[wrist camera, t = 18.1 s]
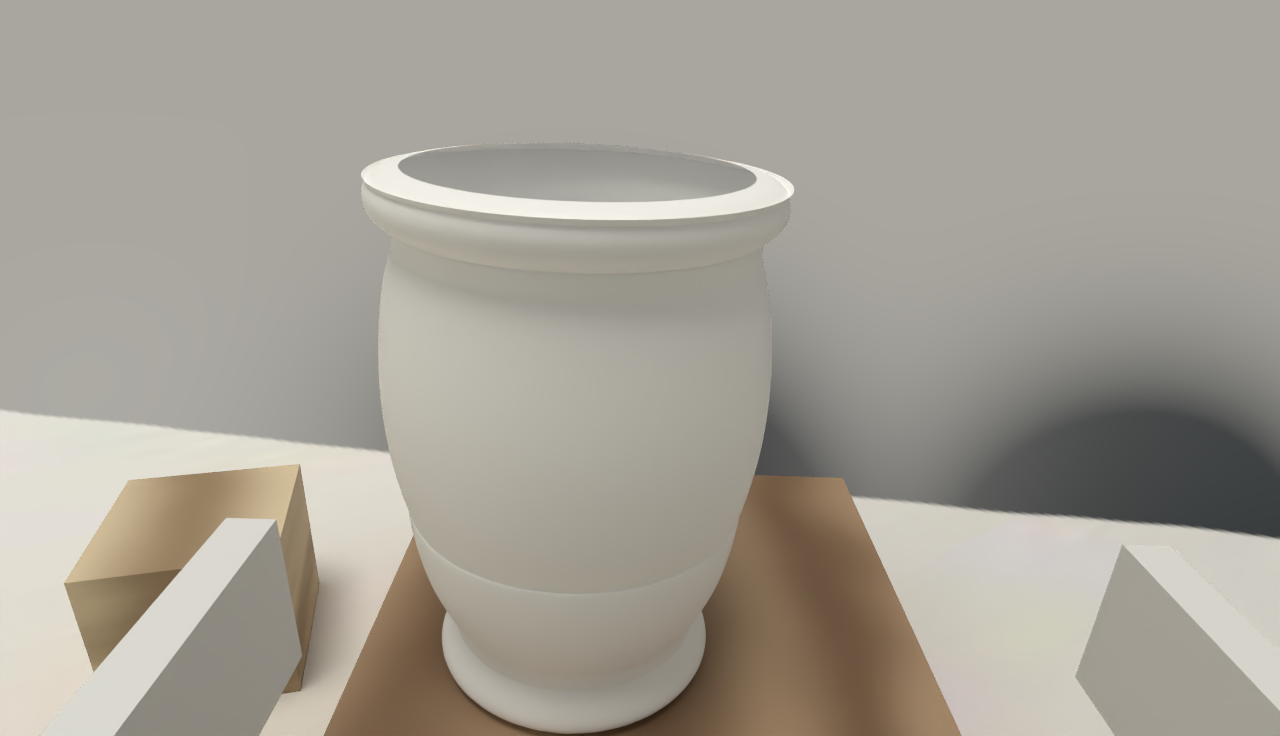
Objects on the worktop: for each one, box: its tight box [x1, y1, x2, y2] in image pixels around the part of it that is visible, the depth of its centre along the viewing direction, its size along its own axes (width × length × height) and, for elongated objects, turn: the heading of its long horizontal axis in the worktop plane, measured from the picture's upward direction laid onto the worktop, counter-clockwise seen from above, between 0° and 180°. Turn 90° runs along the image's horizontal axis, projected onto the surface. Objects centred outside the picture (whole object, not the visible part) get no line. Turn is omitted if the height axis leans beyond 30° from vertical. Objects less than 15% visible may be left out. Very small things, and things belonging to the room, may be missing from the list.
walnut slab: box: [324, 475, 961, 736], centre depth 27 cm, size 18×18×4 cm
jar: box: [361, 143, 794, 734], centre depth 22 cm, size 11×10×15 cm
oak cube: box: [64, 464, 319, 694], centre depth 28 cm, size 6×6×6 cm
